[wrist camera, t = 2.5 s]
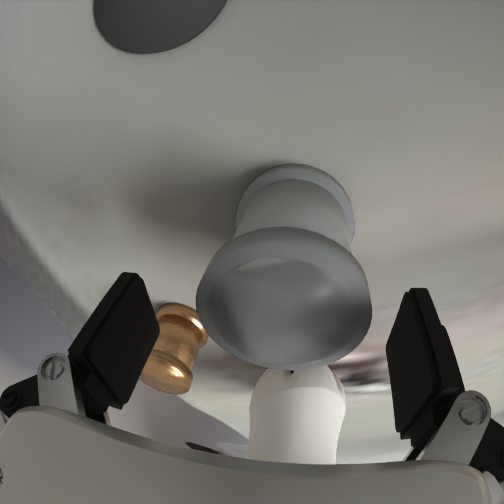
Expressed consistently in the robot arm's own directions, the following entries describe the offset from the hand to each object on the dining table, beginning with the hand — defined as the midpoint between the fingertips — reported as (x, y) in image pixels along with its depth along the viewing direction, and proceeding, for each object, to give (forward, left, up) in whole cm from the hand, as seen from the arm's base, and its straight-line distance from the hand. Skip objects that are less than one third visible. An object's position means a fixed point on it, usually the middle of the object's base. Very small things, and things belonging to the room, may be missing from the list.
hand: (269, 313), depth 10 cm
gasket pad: (+5, -13, -6) cm, 15 cm away
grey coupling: (-1, 0, -7) cm, 6 cm away
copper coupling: (+7, +9, -6) cm, 13 cm away
